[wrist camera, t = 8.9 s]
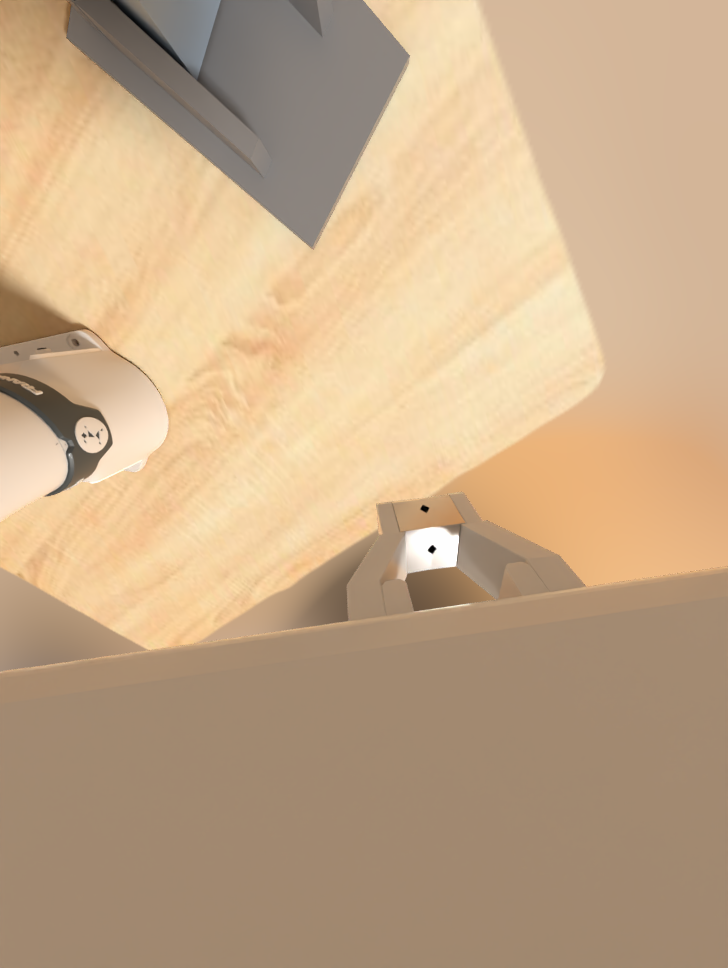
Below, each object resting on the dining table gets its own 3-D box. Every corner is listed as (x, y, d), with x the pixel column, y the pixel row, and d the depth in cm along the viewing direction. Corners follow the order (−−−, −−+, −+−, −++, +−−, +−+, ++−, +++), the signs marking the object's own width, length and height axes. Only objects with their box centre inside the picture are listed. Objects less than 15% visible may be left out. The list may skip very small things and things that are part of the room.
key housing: (408, 64, 26) (425, -47, 18) (313, 249, 33) (295, 227, 25) (127, -265, 20) (-34, -657, 12) (76, 47, 26) (-51, -73, 18)
